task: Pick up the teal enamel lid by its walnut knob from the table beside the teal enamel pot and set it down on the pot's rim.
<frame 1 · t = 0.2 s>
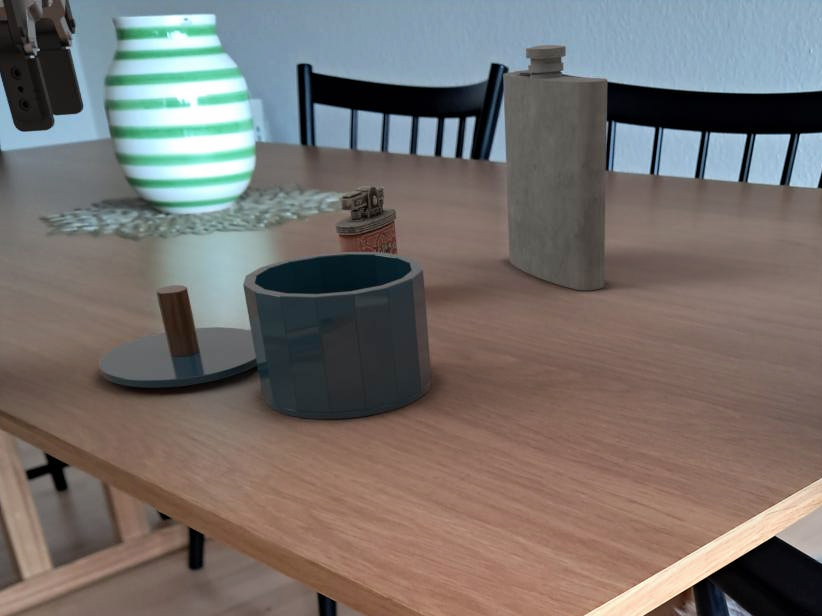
hand: (52, 121, 64), 19 cm above the table, tool pointing down, fingers open, 8 cm apart
hip flask: (550, 275, 102), on the table
lighter: (375, 301, 97), on the table
pot lid: (186, 359, 83), point 1 cm above the table
pot: (348, 388, 76), on the table
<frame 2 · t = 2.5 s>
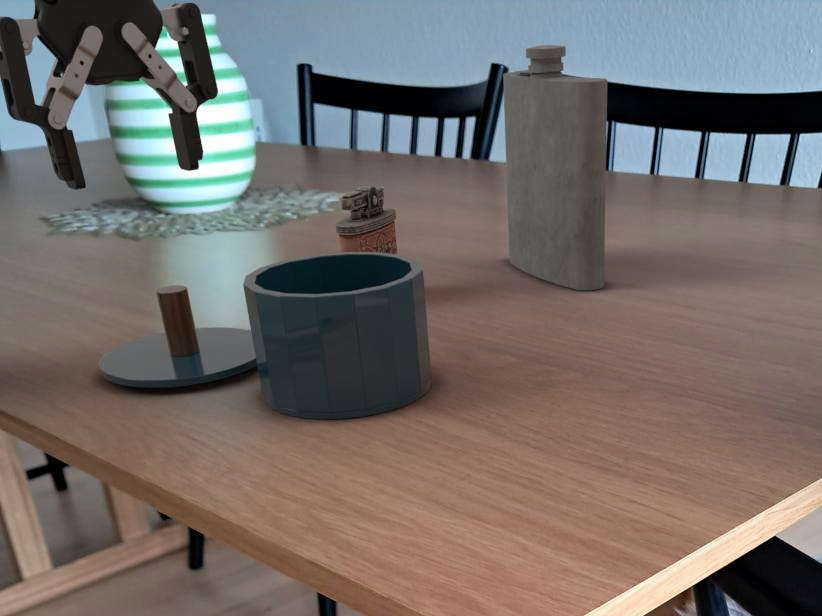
hand: (134, 178, 73), 15 cm above the table, tool pointing down, fingers open, 8 cm apart
nothing on the table moved.
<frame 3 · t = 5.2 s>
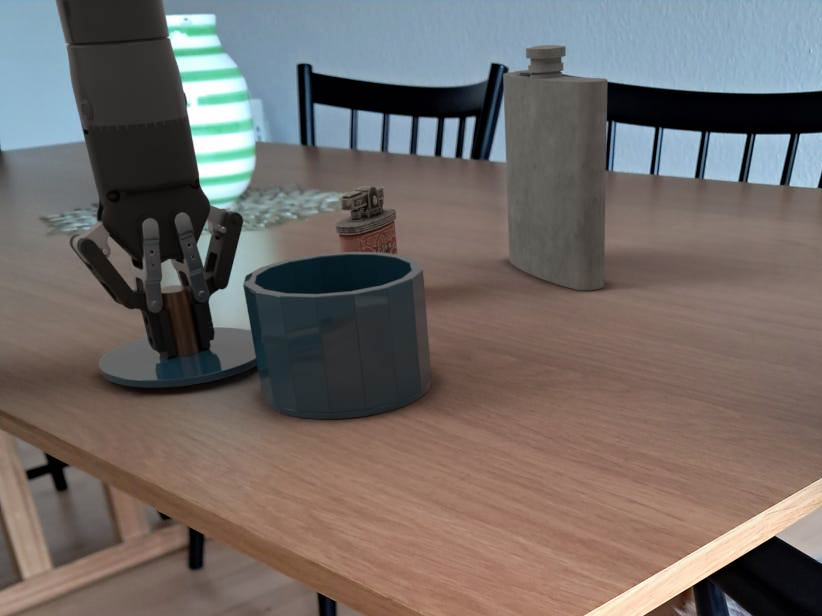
hand: (184, 350, 82), 1 cm above the table, tool pointing down, fingers closed on pot lid, 2 cm apart
pot lid: (186, 359, 83), point 1 cm above the table, touching gripper
everything else where it was.
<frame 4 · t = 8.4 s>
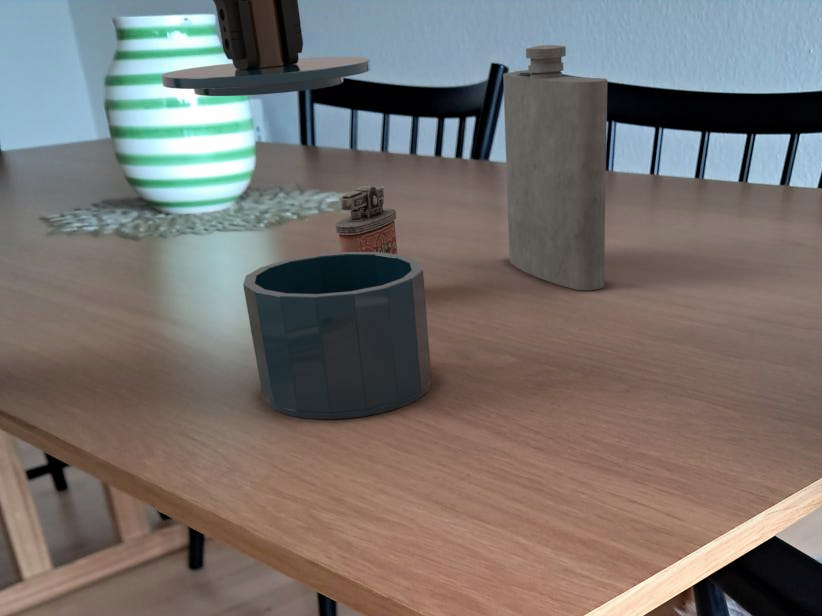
hand: (266, 64, 66), 21 cm above the table, tool pointing down, fingers closed on pot lid, 2 cm apart
pot lid: (268, 77, 67), point 21 cm above the table, touching gripper
everything else where it was.
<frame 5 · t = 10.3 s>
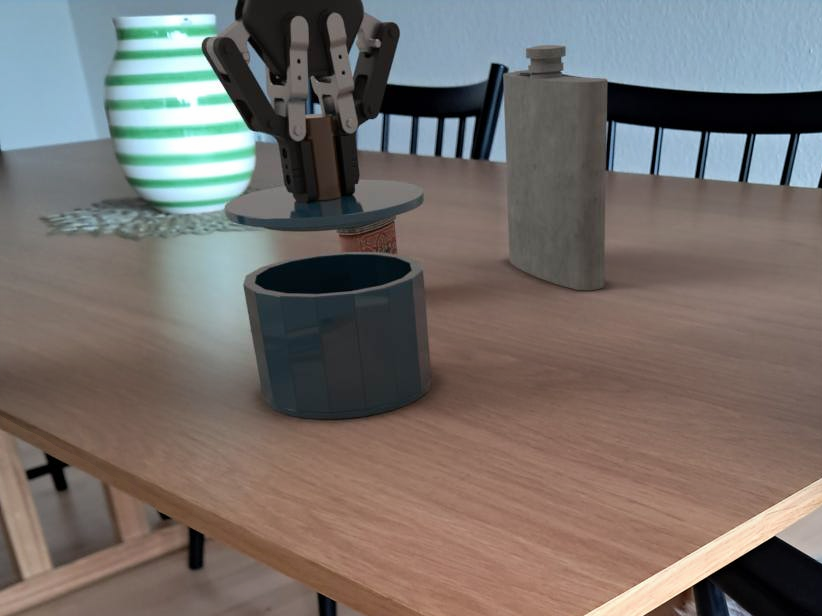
hand: (324, 196, 69), 14 cm above the table, tool pointing down, fingers closed on pot lid, 2 cm apart
pot lid: (325, 206, 69), point 13 cm above the table, touching gripper
everything else where it was.
when the fingers open (9 cm above the table, at t = 11.7 s): pot lid stays where it is, resting on pot.
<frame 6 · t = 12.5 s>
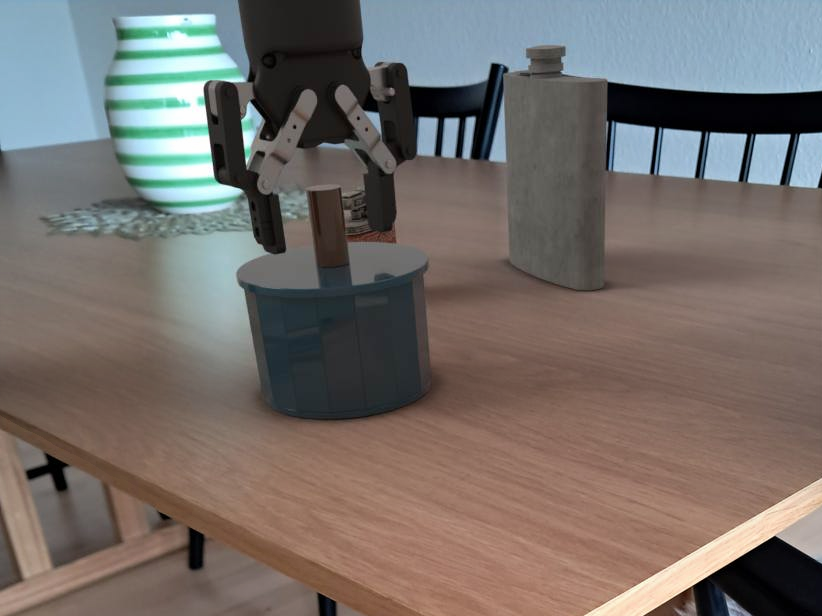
hand: (329, 241, 71), 11 cm above the table, tool pointing down, fingers open, 8 cm apart
pot lid: (334, 272, 72), point 8 cm above the table, touching pot
everything else where it was.
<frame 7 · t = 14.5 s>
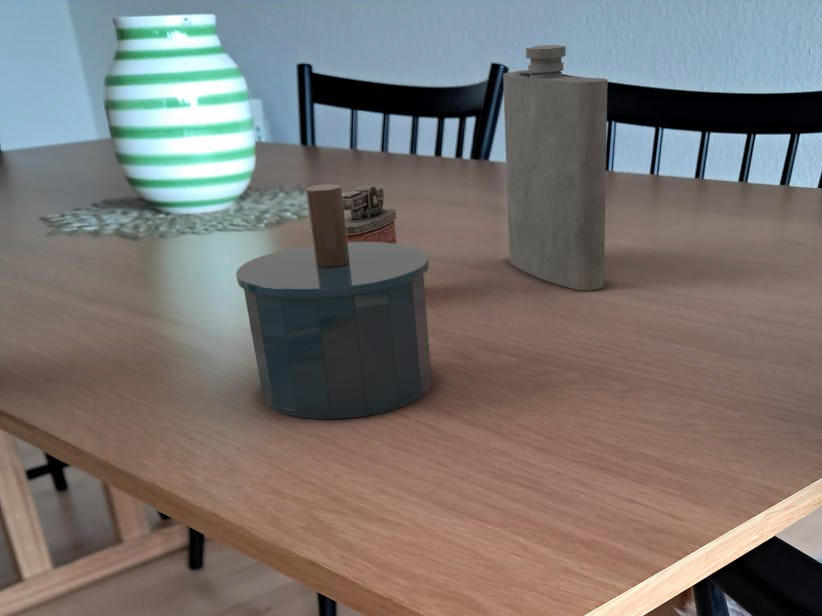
nothing on the table moved.
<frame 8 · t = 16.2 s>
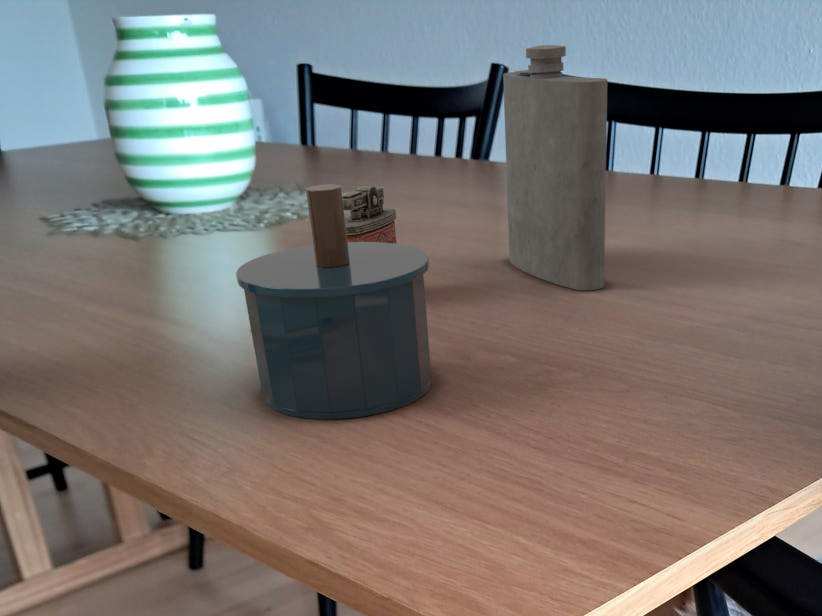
nothing on the table moved.
at the end: pot lid 0.1 cm off-centre on the pot, point 8.5 cm above the pot's base; pot lid tilted 0°; the gripper is holding nothing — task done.
